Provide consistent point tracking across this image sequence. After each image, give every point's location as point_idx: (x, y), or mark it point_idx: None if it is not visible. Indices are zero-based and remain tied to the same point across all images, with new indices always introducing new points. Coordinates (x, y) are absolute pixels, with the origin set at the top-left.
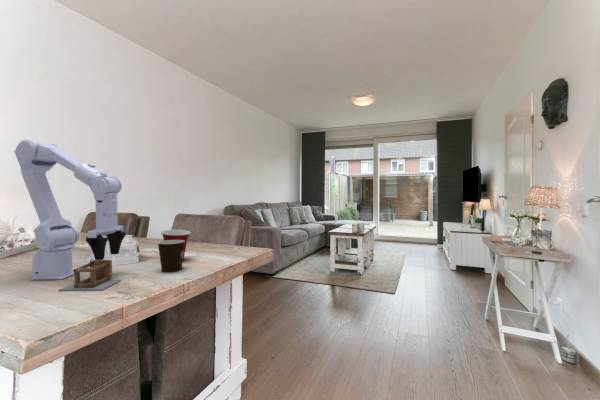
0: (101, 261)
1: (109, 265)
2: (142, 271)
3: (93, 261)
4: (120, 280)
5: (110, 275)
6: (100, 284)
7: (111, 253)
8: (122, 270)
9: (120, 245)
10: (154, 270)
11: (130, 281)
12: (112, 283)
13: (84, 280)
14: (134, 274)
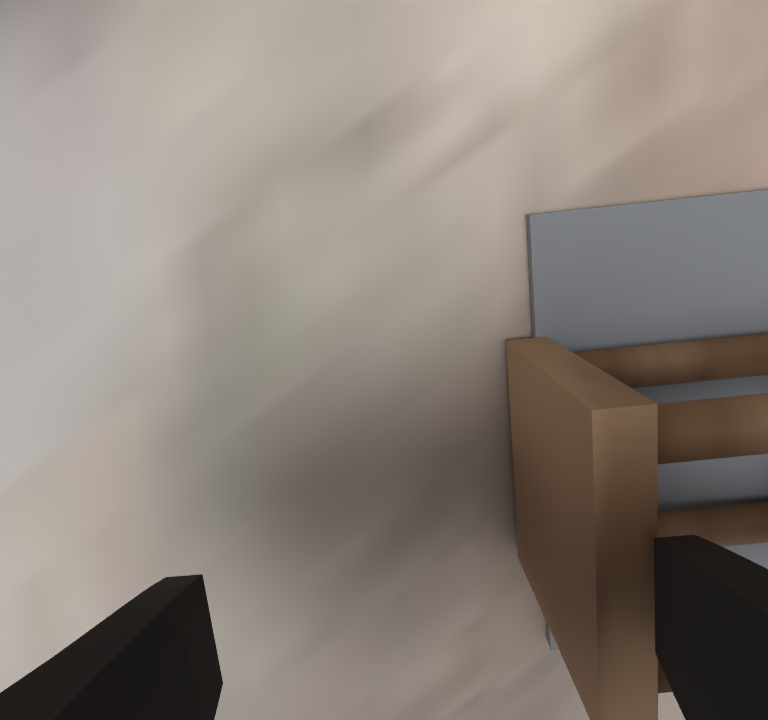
0: (652, 544)
1: (618, 386)
2: (107, 205)
3: (653, 671)
4: (537, 214)
5: (559, 346)
6: (717, 330)
7: (216, 687)
8: (110, 491)
9: (29, 677)
10: (32, 57)
11: (542, 73)
12: (687, 211)
13: (723, 529)
14: (250, 225)
